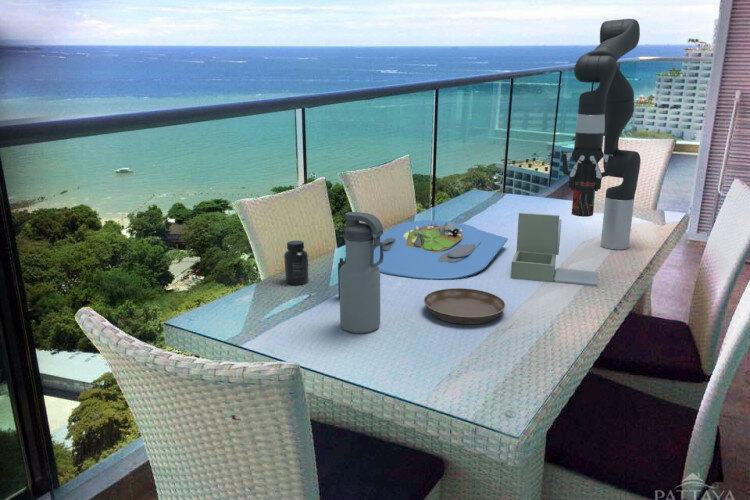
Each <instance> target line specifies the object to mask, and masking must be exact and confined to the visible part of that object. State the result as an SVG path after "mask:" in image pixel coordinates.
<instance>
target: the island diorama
mask: <svg viewBox="0 0 750 500" xmlns="http://www.w3.org/2000/svg"><path fill="white" fill-rule="evenodd" d="M508 240H509V238H507V237H504V236H503V235H502V236H501V235H498V234H495V233H493V232H492V233H491V232H487V231H484V230H481V229H478V228H477V227H476V226H473V225H470V224H466V223H465V224H464V223H457V222H454V221H447V220H439V219H438V220H435V219H428V220H427V219H426V220H414V221H413V220H411V221H407V222H403V223H400V224H398V225H396V226H393V227H391V228H389V229H387V230H385V231H383V234H382V235H381V236H380V242H383V262H382V263H381V264H379V265H378V267H379V269H380V274H381V273H382V274H385V275H390V276H395V277H400V278H402V277H403V278H407V279H408V278H410V279H415V280H417V279H418V280H430V279H432V280H434V281H435V280H437V281H439V280H440V281H445V280H447V281H448V280H450V279H451V280H458V279H459V280H460V279H463V278H468V277H470V276H471V277H472V276H474V275H475V274H478V273H480V272H482V271H483V270H484V269H486V268H487V267H488V266H489V264H490V263H491V262H492V260H493V259H494V258H496V256H497V254H499V252H500V250H501V249H502V248H503V247H504V245H506V243H507V242H508ZM373 245H374V240H373ZM379 259H380V246H378V247H376V248H375V250H374V264H375V263H376V262H378V261H379Z"/></svg>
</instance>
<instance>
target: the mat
mask: <svg viewBox="0 0 750 500" xmlns="http://www.w3.org/2000/svg"><path fill="white" fill-rule="evenodd" d="M598 274H599V272H598V271H592V270H581V269H571V268H561V267H556V268H555V273H554V278H553V281H554V283H559V284H560V283H561V284H569V285H580V286H587V287H588V286H591V287H598V285H599V281H598V279H599V275H598Z"/></svg>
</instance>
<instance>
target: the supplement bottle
mask: <svg viewBox="0 0 750 500" xmlns="http://www.w3.org/2000/svg"><path fill="white" fill-rule="evenodd" d="M286 249H287V250H286V251H285V253H284V255H283V257H284V259H283V261H284V274H285V275H284V276H285V279H284V280H285V282H286V284H288V285H291V286H300V285H304V284H305V285H306V284H307V283H308V282H309V278H310V277H309V276H310V275H309V273H310V272H309V256H308V255H309V254H308V252H307V251H306V250H305V244H304V241H302V240H290V241H287V242H286Z"/></svg>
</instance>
